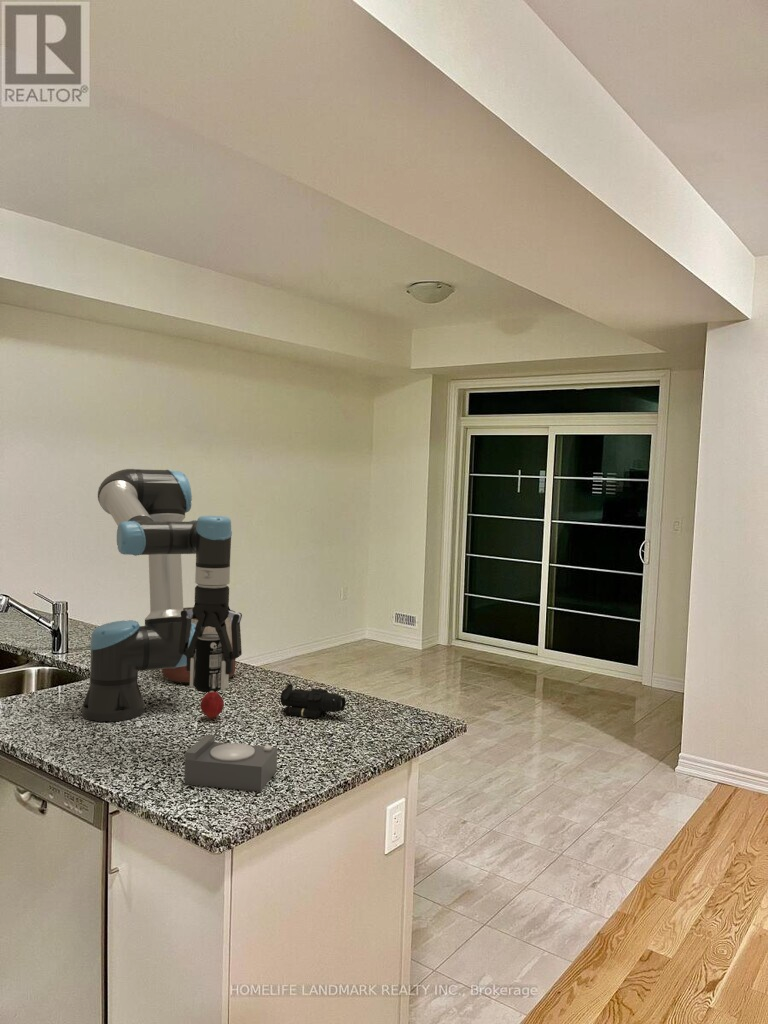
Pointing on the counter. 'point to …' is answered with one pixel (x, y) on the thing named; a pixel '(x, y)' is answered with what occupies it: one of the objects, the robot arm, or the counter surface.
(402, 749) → the counter surface
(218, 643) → the beverage can
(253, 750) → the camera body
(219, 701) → the onion
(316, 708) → the night vision scope
